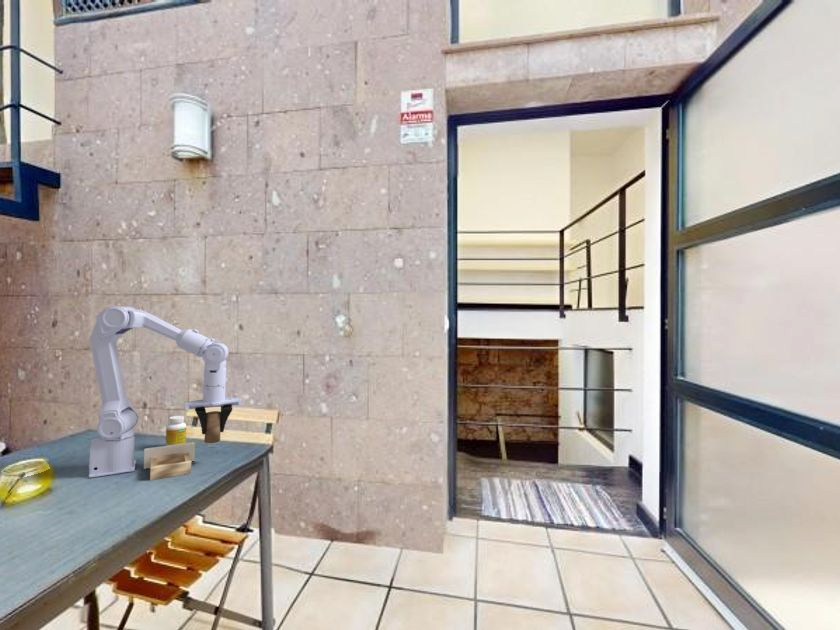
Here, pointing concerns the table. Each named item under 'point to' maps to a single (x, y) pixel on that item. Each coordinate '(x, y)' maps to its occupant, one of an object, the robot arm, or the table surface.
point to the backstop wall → (168, 451)
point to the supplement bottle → (176, 431)
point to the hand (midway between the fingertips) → (212, 432)
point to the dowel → (212, 427)
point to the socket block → (170, 465)
